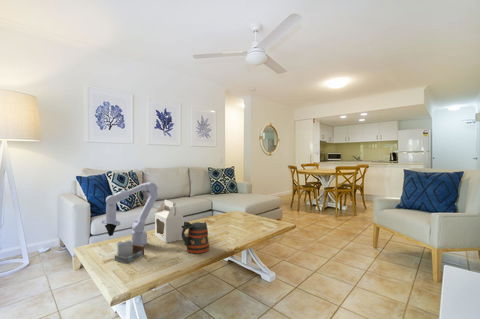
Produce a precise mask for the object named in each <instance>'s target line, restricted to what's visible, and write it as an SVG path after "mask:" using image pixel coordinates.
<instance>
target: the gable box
mask: <svg viewBox="0 0 480 319" xmlns="http://www.w3.org/2000/svg"><path fill="white" fill-rule="evenodd" d="M180 211H181V210H179V208H178V207H177V206H176V202H174V201H173V200H169V199H164V201H163V203H161V204H160V206H159V208H158V209H157V210H156V212H155V214H154V217H155V218H154V236H155V237H156V236H157V237H156V238H158V239H159V240H161V241H162V242H163V243H165V244H169V243H173V242H172V241H174V242H177V241H176V240H178V241H181V240H180V239H182V230H183V228H182V226H184V215H183V214H182V212H180ZM163 233H164V237H163V236H162V235H161V234H163ZM182 240H183V239H182ZM168 242H169V243H168Z"/></svg>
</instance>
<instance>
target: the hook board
mask: <svg viewBox="0 0 480 319" xmlns="http://www.w3.org/2000/svg"><path fill="white" fill-rule="evenodd" d="M120 242H122V241H118V243H120ZM142 256H145V245H143V246H140V245H135V244H133V255H131V256H129V257H127V258H126V257H122V256H118V255H114V261H115V262H119V263H124V264H128V263H131V262H132V261H134V260H137V259H139V258H141V257H142Z"/></svg>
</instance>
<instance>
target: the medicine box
mask: <svg viewBox="0 0 480 319" xmlns="http://www.w3.org/2000/svg"><path fill="white" fill-rule="evenodd" d="M119 242H120V241H119ZM119 242H117V243H116V244H117V246H116V248H117V251H116V252H117V253H116V254H117V255H118V256H122V257H126V258H127V257H129V256H131V255H134V254H133V242H132V240H126V241H121V242H120V243H119Z"/></svg>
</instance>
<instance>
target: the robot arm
mask: <svg viewBox="0 0 480 319" xmlns="http://www.w3.org/2000/svg"><path fill="white" fill-rule="evenodd" d="M140 191H143V192H145V191H146V192H147V194H148V198H147V200H146V202H145V203H144V206H143V208H142V209H141V211H140V214H139V216H138V217H137V218H135V221H133V223H132V224H131V226H130V227H131V229H132V231H131V241H132V242H133V244H135V245H140V246H145V245H147V244H148V234H147V231H146V230H145V225H146V220H147V219H148V216H149V215H150V212H151V210H152V209H153V207H154V204H155V203H156V200H157V198H158V185H157V184H156V183H155V182H151V181H147V182H144V183H141V184H139V185H136V186H135V187H132V188H131V189H128V190H126V189H124V190H123V189H121V190H120V191H119V192H116V193H112V195H108V196H107V197H106V198H105V203H106V205H105V206H106V207H105V219H102V220H101V223H102V224H105V225H104V227H105V229H106V231H107V234H108V237H112V236H114V232H115V230H116V228H117V227H118V226H119V227H120V226H121V221H118V220H117V203H119V202H122V201H123V200H126V199H128V198H129V197H130V196H132V195H133V194H136V193H137V192H140Z"/></svg>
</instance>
